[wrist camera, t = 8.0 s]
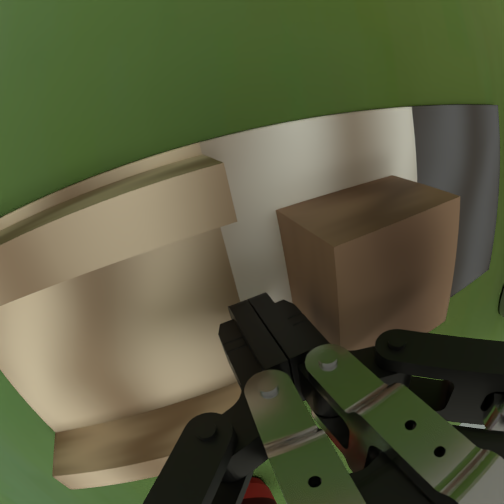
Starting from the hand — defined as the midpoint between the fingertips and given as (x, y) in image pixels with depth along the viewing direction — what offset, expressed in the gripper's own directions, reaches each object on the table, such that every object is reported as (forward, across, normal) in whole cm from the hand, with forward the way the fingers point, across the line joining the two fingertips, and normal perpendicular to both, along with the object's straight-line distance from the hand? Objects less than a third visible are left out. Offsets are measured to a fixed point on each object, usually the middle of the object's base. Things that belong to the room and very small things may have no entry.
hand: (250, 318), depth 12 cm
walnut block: (+1, -5, 0) cm, 5 cm away
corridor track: (+2, -4, 0) cm, 4 cm away
